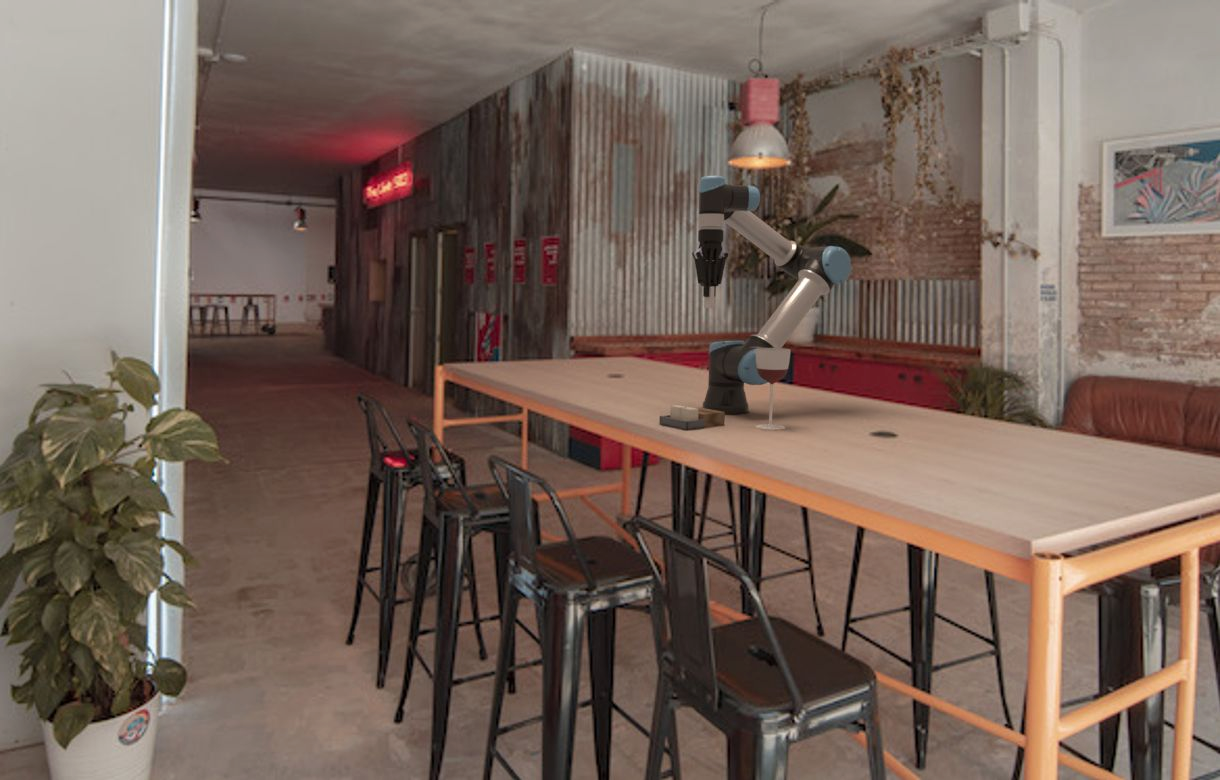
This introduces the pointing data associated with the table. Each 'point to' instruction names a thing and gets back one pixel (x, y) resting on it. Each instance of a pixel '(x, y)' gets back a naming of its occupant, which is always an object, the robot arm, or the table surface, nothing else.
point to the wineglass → (772, 373)
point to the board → (711, 417)
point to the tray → (682, 423)
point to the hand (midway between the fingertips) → (709, 307)
